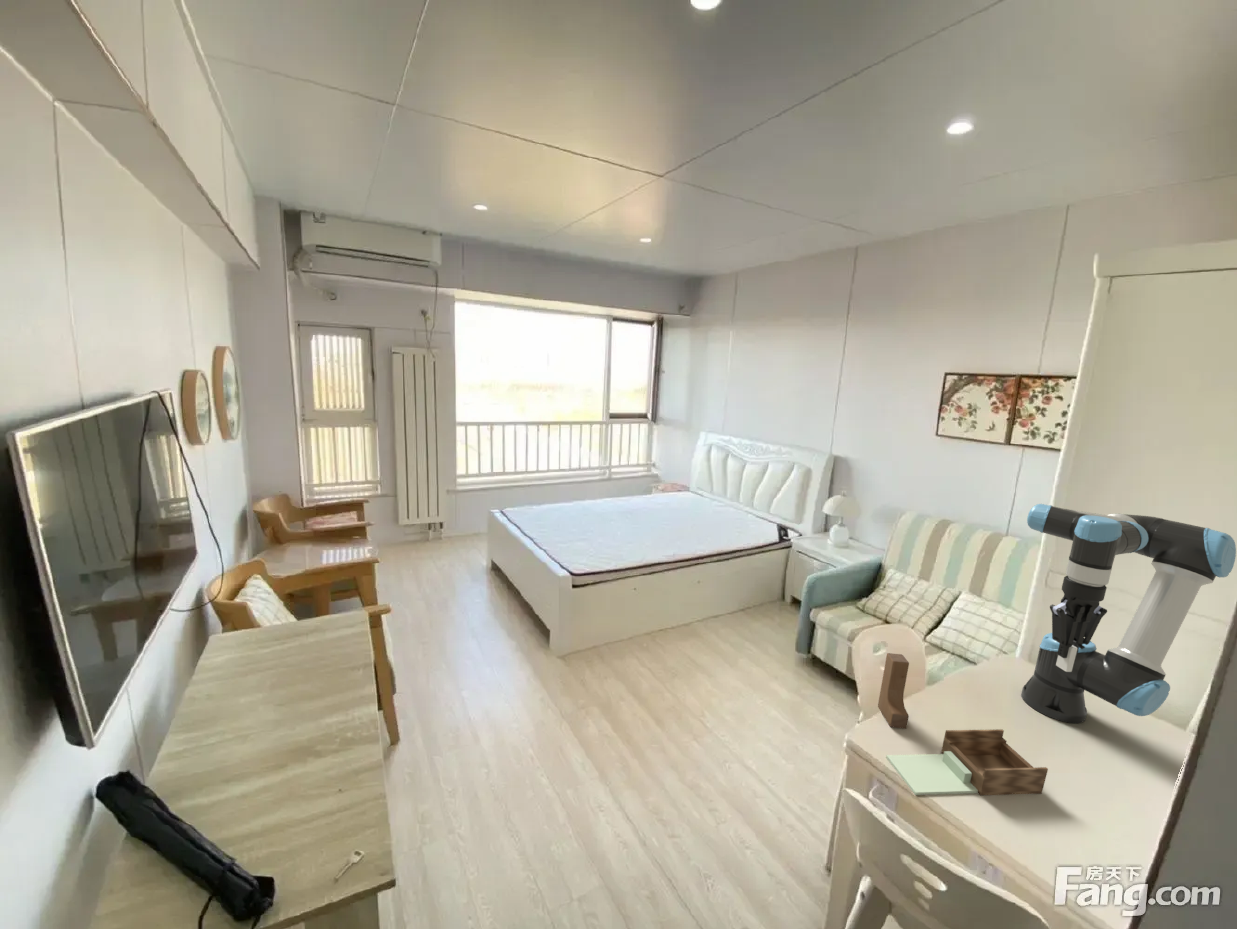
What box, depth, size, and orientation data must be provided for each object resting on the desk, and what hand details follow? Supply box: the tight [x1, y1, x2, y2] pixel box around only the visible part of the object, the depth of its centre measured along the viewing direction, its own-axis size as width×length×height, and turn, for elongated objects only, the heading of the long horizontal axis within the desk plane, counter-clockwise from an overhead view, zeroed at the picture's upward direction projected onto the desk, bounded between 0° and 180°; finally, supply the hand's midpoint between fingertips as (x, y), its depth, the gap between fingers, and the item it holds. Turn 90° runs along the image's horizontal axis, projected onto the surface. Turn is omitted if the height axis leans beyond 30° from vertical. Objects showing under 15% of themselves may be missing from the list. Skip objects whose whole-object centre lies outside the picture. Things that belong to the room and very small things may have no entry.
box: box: [940, 728, 1049, 796], centre depth 124 cm, size 16×13×7 cm
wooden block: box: [877, 652, 910, 730], centre depth 141 cm, size 9×4×18 cm, turn 174°
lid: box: [885, 751, 978, 796], centre depth 123 cm, size 16×11×4 cm
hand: (1063, 668), depth 122 cm, fingers closed
